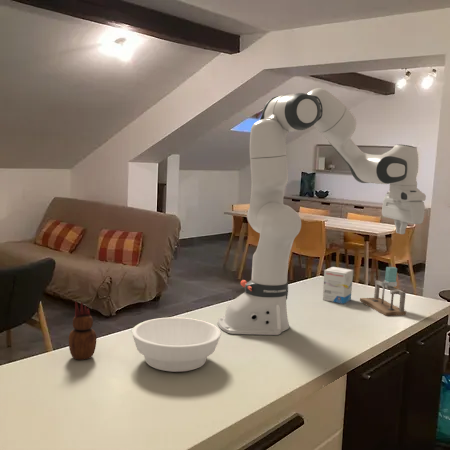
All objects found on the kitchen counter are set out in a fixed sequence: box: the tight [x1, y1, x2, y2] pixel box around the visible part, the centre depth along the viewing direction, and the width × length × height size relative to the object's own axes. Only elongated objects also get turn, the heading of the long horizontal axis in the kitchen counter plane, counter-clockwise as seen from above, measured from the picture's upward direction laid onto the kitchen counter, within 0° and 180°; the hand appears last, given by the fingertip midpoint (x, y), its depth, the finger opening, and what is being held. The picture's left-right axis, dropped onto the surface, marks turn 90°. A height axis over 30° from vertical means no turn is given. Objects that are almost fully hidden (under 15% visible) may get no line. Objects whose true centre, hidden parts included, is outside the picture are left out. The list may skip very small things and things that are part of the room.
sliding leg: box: [381, 266, 398, 304], centre depth 195 cm, size 5×3×13 cm, turn 105°
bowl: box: [131, 316, 222, 373], centre depth 137 cm, size 22×22×8 cm
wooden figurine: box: [68, 301, 97, 361], centre depth 137 cm, size 7×6×15 cm
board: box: [359, 279, 407, 317], centre depth 196 cm, size 8×18×8 cm, turn 15°
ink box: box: [322, 266, 354, 305], centre depth 204 cm, size 9×8×12 cm
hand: (400, 233), depth 185 cm, fingers closed
